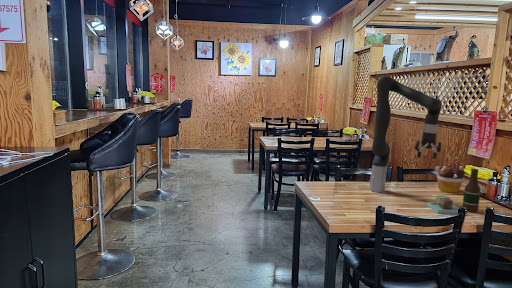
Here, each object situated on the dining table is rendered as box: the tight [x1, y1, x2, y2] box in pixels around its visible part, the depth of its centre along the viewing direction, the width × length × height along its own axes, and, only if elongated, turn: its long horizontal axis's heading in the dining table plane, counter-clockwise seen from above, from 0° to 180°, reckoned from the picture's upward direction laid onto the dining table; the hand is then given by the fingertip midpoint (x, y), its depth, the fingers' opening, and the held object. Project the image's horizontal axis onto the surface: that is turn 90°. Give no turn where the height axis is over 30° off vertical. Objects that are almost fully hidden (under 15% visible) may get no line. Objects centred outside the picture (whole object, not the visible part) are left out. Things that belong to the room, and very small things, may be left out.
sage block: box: [435, 194, 451, 203], centre depth 206 cm, size 5×5×5 cm
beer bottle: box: [461, 168, 481, 214], centre depth 194 cm, size 8×8×24 cm
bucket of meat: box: [434, 160, 467, 194], centre depth 236 cm, size 20×16×20 cm
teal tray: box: [426, 201, 460, 215], centre depth 196 cm, size 14×14×2 cm
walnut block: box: [439, 198, 454, 210], centre depth 195 cm, size 5×5×5 cm
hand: (426, 158), depth 210 cm, fingers open, 8 cm apart
